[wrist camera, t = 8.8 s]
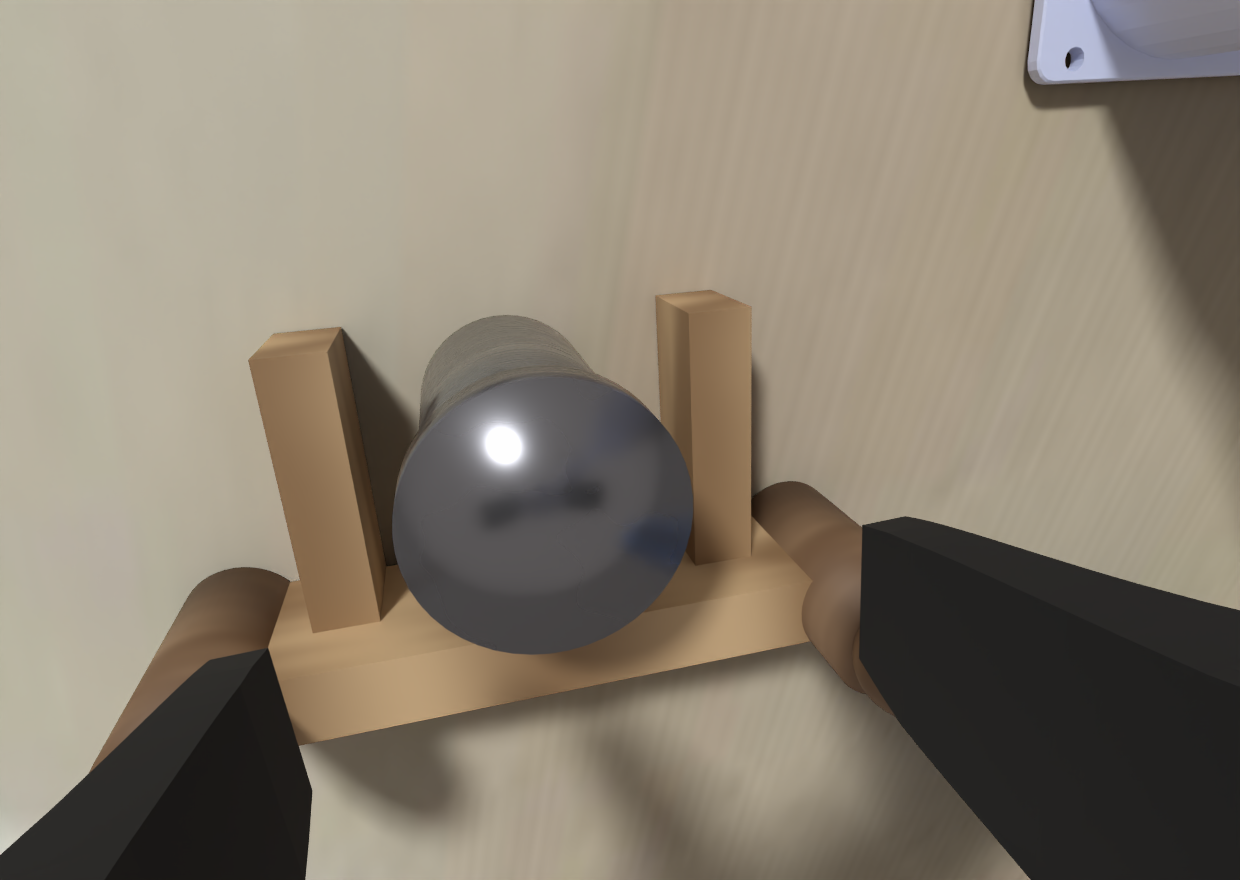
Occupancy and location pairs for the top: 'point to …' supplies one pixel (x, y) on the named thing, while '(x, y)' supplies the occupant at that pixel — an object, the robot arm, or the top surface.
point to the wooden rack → (474, 675)
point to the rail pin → (535, 494)
